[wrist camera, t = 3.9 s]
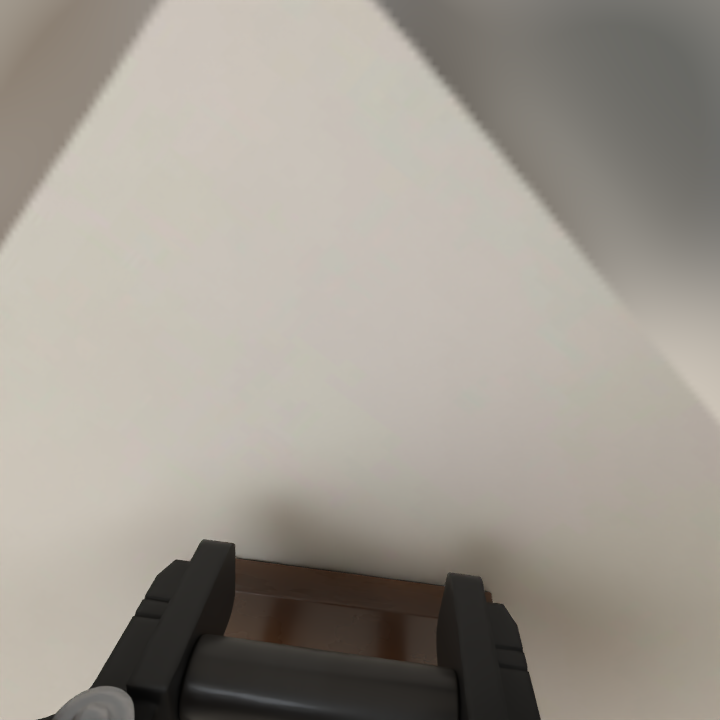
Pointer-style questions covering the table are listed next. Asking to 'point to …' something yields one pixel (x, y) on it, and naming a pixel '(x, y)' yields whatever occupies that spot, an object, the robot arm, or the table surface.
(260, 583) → the switch bracket
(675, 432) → the table surface
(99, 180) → the table surface
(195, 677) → the switch lever
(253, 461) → the table surface
